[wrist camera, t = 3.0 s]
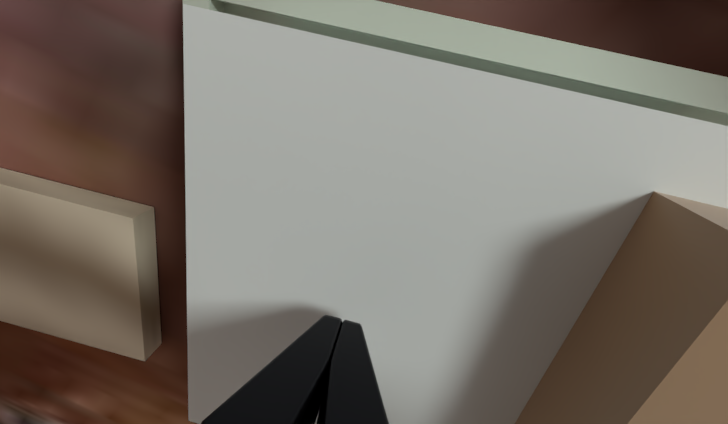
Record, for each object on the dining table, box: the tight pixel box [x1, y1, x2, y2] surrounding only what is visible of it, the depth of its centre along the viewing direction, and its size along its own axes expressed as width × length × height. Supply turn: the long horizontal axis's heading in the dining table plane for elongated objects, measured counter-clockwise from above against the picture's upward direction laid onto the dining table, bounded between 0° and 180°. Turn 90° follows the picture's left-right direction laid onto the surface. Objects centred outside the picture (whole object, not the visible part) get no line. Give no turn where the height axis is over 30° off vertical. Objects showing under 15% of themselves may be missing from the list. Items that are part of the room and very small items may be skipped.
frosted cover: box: [183, 4, 728, 424], centre depth 9 cm, size 12×12×7 cm
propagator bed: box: [183, 0, 728, 285], centre depth 12 cm, size 14×29×2 cm, turn 78°
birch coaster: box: [0, 168, 162, 361], centre depth 16 cm, size 8×8×1 cm
